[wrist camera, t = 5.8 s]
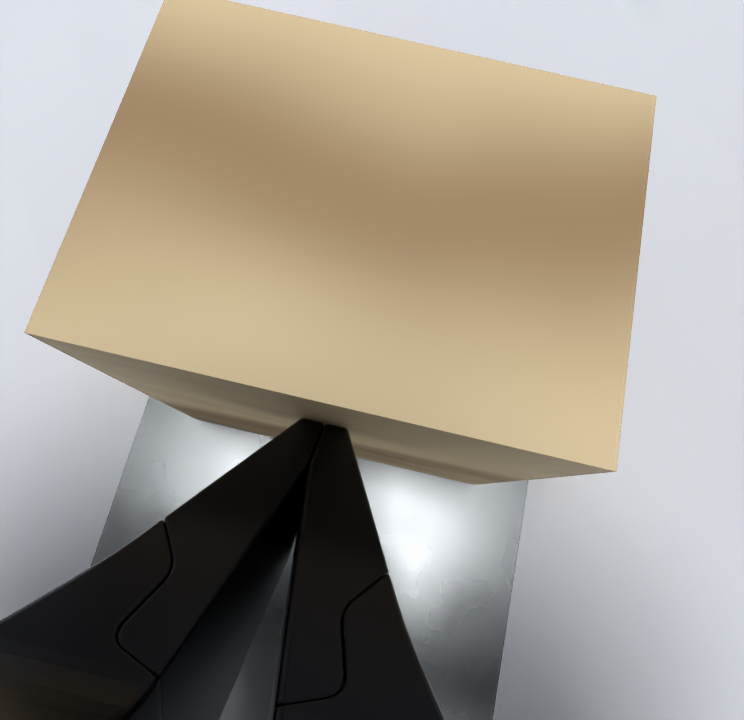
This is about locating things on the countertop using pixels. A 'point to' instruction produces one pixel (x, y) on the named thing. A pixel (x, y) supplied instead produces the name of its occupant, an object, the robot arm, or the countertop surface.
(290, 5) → the countertop surface
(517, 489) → the metal tray
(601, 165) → the tan wooden block
